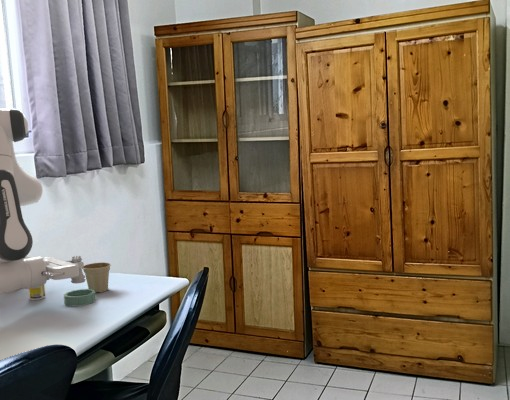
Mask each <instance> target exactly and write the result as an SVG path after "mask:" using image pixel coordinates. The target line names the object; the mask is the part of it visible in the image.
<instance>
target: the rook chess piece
mask: <svg viewBox="0 0 510 400" xmlns="http://www.w3.org/2000/svg"><path fill="white" fill-rule="evenodd" d="M71 257H72V258H71V261H72V262H73V263H76V262H82V260H83V258H82V256H80V255H76V256H75V255H74V256H71ZM70 279H71V281H70V282H71V284H82V283H85V281H87V280H86V276H85V273H84V271H83V269H82V268H79V276H77V277H74V278H70Z"/></svg>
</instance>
